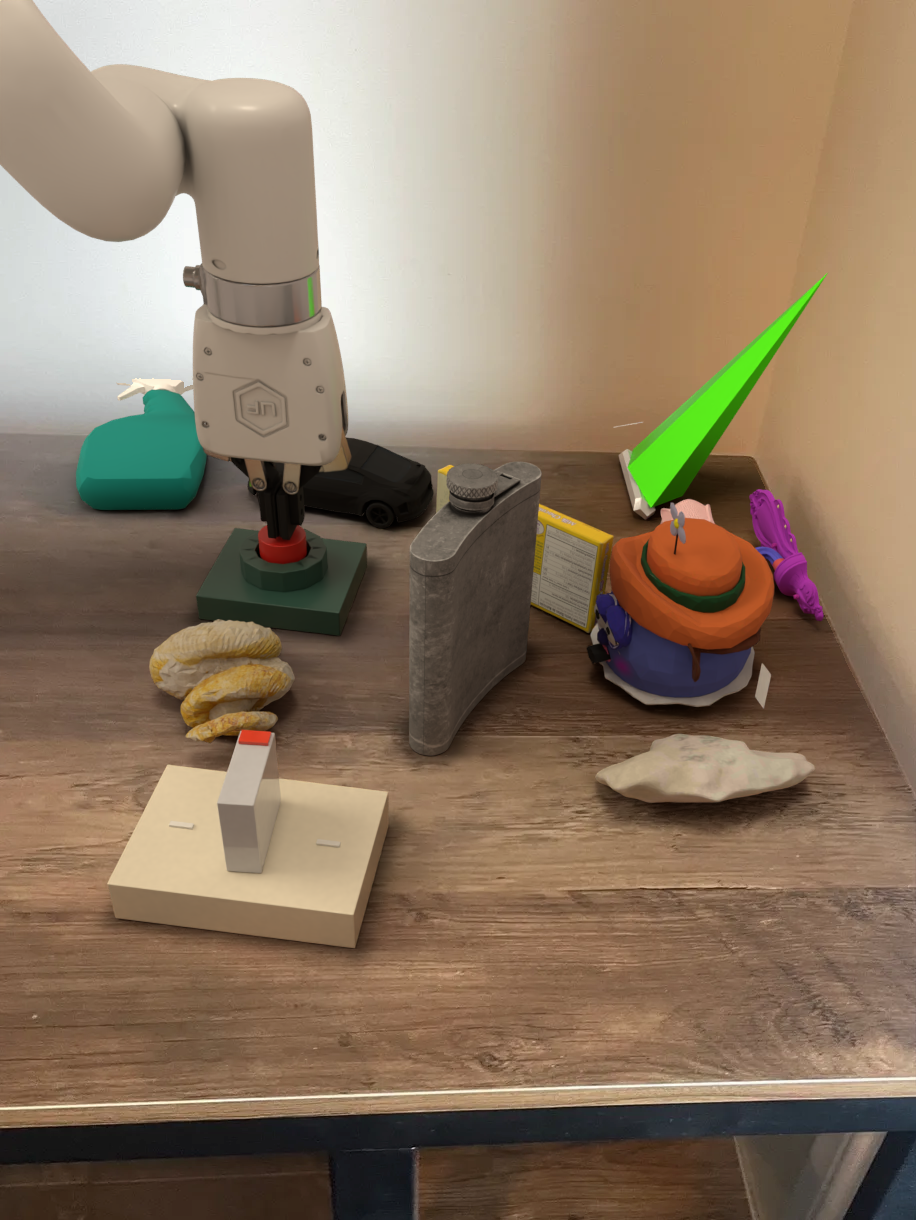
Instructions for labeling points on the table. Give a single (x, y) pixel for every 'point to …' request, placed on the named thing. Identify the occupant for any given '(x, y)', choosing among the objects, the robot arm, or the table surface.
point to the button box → (284, 585)
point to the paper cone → (701, 421)
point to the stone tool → (703, 771)
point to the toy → (683, 614)
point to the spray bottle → (144, 453)
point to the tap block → (292, 873)
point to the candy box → (562, 563)
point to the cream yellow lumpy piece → (222, 676)
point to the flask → (469, 596)
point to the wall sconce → (769, 545)
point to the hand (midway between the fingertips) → (284, 529)
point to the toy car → (370, 486)
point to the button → (282, 547)
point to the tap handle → (249, 801)
